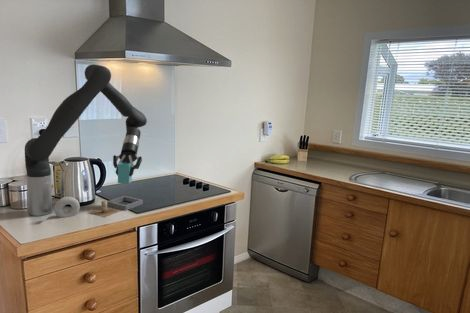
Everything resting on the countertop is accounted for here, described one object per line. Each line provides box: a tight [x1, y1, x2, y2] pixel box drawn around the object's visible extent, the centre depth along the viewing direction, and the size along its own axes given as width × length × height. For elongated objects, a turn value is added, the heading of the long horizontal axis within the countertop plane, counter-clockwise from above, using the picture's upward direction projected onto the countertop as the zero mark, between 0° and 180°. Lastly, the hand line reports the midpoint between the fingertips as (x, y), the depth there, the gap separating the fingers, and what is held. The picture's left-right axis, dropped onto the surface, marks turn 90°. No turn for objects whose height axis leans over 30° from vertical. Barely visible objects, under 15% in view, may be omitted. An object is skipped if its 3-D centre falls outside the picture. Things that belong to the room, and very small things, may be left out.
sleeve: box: [117, 162, 133, 185], centre depth 166 cm, size 5×5×9 cm
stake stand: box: [88, 200, 121, 218], centre depth 157 cm, size 10×10×6 cm
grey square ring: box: [106, 195, 144, 211], centre depth 169 cm, size 12×12×4 cm
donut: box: [53, 196, 81, 218], centre depth 150 cm, size 10×3×10 cm, turn 124°
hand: (124, 174), depth 165 cm, fingers closed on sleeve, 5 cm apart
